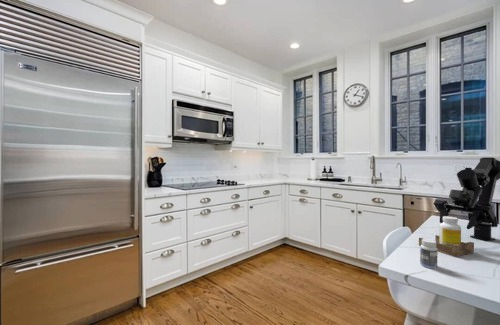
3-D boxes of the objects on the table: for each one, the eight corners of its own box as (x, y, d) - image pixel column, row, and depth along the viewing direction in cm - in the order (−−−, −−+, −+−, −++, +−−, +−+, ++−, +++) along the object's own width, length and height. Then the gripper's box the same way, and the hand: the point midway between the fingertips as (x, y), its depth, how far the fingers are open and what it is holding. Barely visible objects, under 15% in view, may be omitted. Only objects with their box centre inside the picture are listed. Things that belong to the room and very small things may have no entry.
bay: (435, 241, 110) (435, 232, 110) (473, 253, 96) (474, 242, 96) (417, 244, 106) (417, 235, 106) (454, 256, 93) (454, 245, 93)
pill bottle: (416, 263, 87) (416, 238, 87) (429, 262, 88) (429, 238, 88) (427, 269, 83) (427, 243, 82) (441, 268, 83) (441, 242, 83)
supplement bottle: (465, 254, 95) (465, 219, 95) (444, 253, 97) (445, 219, 97) (454, 248, 102) (454, 216, 102) (435, 247, 103) (436, 215, 103)
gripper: (436, 180, 111) (420, 208, 106) (491, 184, 94) (475, 217, 89) (446, 197, 114) (431, 225, 109) (501, 204, 97) (486, 237, 93)
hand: (453, 225), depth 100 cm, fingers open, 9 cm apart
